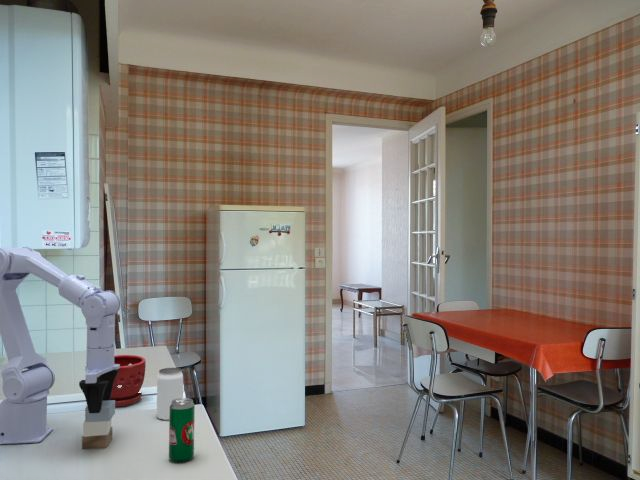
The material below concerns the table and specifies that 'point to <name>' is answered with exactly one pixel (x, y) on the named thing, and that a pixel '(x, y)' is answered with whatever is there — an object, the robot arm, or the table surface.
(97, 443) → the walnut block
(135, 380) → the plant pot
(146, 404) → the table surface
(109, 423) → the cream block
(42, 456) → the table surface
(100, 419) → the slate block
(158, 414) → the can
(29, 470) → the table surface
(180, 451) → the soda can
